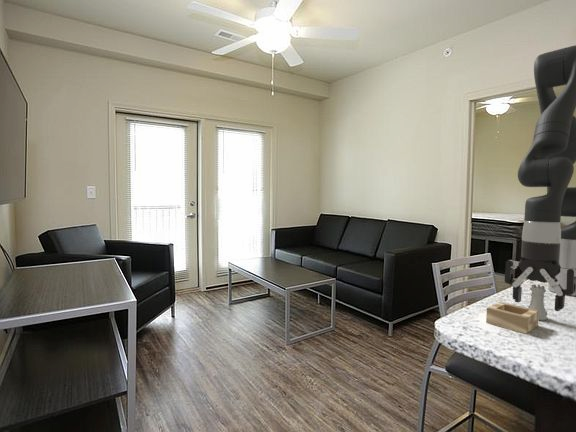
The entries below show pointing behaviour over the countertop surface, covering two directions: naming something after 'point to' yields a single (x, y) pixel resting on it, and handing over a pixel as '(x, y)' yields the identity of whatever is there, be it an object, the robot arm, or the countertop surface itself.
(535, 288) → the rook chess piece
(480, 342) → the countertop surface
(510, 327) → the socket block
